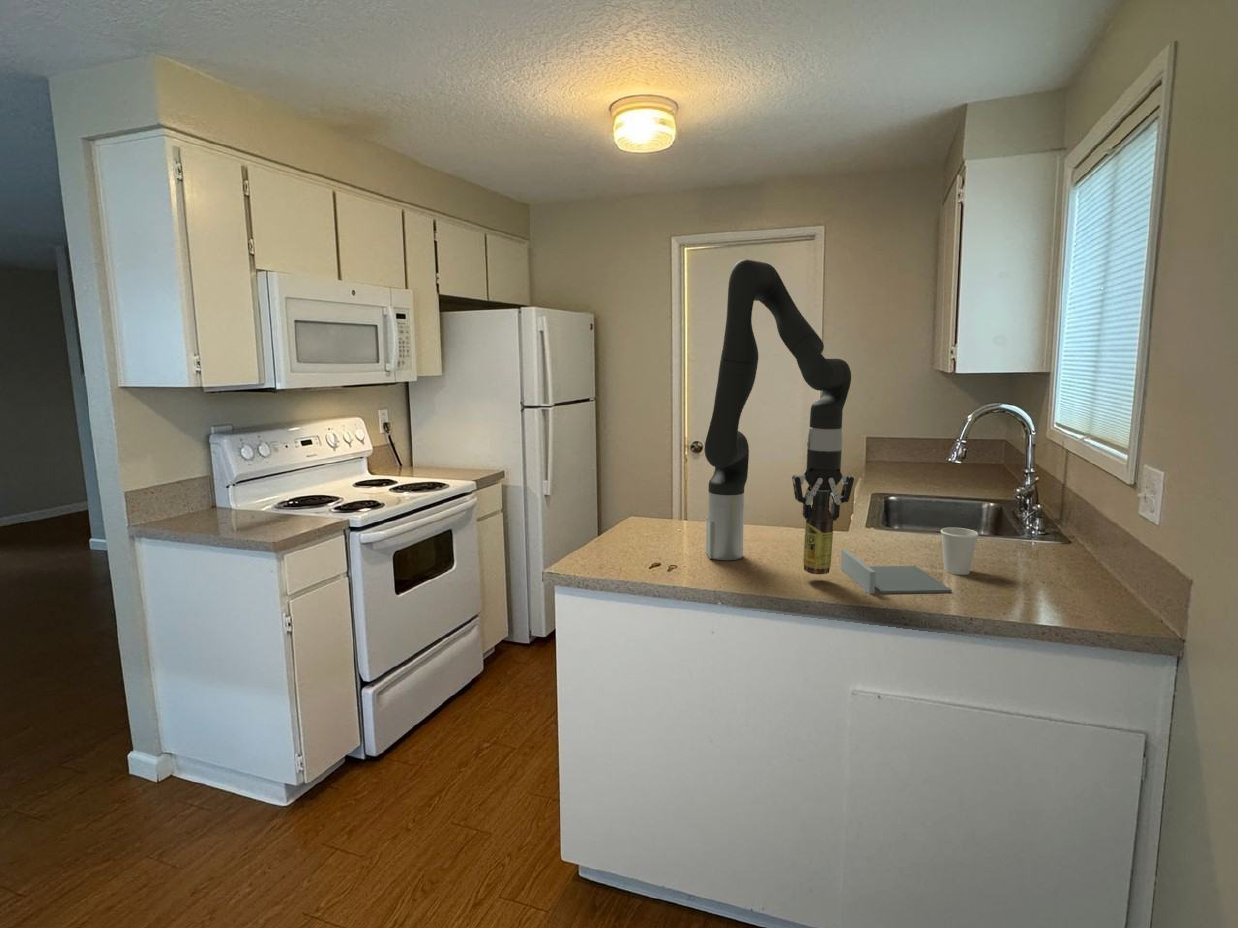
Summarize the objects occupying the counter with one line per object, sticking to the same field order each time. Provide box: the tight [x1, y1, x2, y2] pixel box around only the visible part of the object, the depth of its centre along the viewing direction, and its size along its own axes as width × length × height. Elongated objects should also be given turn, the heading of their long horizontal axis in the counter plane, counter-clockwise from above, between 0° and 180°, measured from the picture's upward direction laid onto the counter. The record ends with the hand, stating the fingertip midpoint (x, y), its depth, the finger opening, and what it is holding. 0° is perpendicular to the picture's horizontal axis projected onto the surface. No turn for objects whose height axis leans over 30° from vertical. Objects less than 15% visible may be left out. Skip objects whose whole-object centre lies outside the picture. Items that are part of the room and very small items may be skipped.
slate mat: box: [869, 565, 952, 595], centre depth 166 cm, size 16×18×1 cm
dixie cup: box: [940, 527, 979, 576], centre depth 172 cm, size 8×8×10 cm
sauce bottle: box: [802, 490, 834, 575], centre depth 164 cm, size 7×6×20 cm
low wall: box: [840, 549, 876, 595], centre depth 166 cm, size 1×18×5 cm, turn 2°
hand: (820, 519), depth 163 cm, fingers closed on sauce bottle, 5 cm apart
